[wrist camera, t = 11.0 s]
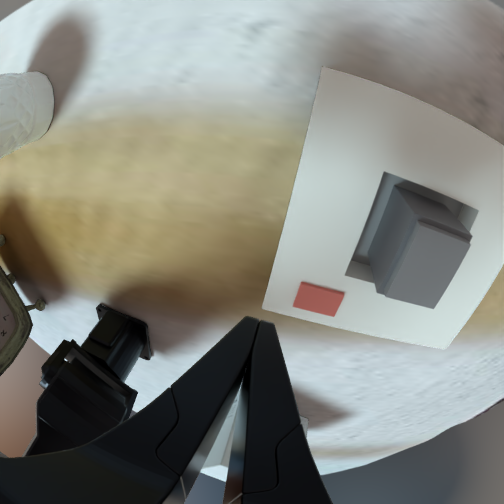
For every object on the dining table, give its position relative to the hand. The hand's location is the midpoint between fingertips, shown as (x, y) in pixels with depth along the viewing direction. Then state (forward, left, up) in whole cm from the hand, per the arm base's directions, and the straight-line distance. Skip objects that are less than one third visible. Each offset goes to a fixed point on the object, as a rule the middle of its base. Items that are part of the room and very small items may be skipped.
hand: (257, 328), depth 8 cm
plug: (0, -8, -11) cm, 14 cm away
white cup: (+4, +24, -12) cm, 27 cm away
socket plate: (0, -8, -12) cm, 14 cm away
